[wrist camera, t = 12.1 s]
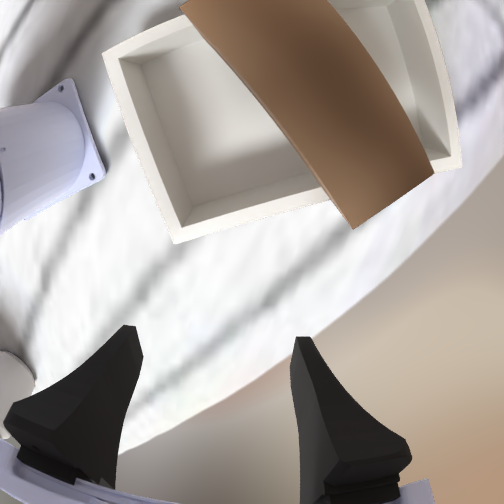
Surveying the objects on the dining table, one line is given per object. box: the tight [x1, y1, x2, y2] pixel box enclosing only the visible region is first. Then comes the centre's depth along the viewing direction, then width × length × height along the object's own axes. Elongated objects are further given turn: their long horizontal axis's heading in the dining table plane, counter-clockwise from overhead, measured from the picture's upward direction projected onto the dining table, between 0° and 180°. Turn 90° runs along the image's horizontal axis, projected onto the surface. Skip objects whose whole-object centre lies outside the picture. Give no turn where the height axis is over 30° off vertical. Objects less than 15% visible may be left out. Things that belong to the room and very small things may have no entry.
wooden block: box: [179, 0, 435, 229], centre depth 11 cm, size 4×10×5 cm, turn 37°
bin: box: [102, 0, 462, 245], centre depth 15 cm, size 18×12×4 cm, turn 107°
